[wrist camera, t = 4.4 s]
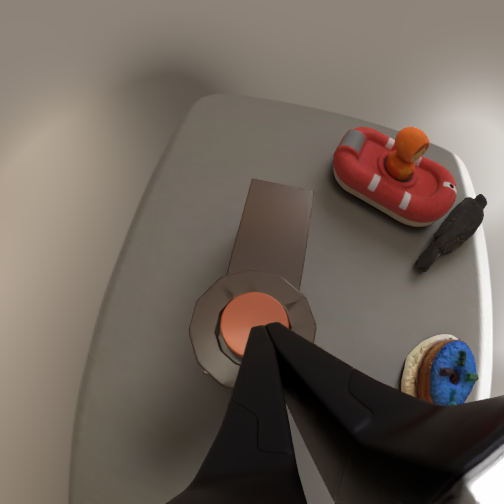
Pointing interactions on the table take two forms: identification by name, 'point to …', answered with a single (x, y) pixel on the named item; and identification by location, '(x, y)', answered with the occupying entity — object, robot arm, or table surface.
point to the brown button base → (258, 273)
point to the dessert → (440, 371)
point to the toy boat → (394, 175)
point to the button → (249, 318)
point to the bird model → (454, 230)
